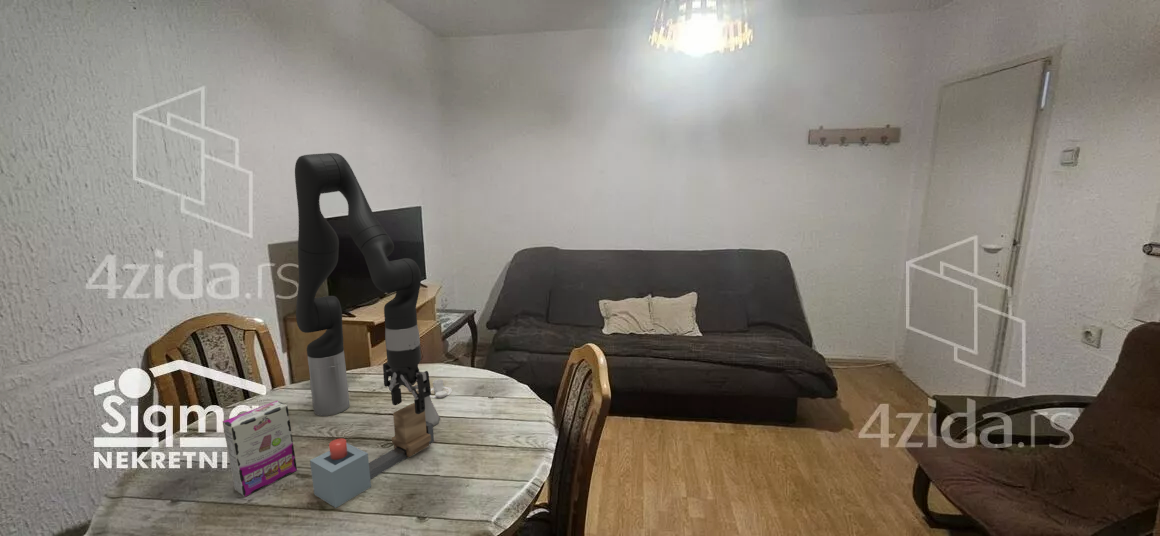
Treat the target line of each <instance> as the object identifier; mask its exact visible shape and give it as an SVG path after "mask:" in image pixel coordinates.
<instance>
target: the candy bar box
mask: <svg viewBox="0 0 1160 536" xmlns="http://www.w3.org/2000/svg"><path fill="white" fill-rule="evenodd" d="M289 413H290V412H289V408H288V405H287V404H286V403H283V402H281V401H279V400H275V401H271V402H269V403H267V404H264V405H262V406H260V407H257V408H254V409H250V410H249V411H245V412H243V413H241V414H239V415H235V416H233V417H231V418H228V419H225V420H222V426H223V432H224V433H223V434H224V436H225V442H226V449H227V453H228V454H227V455H228V459H229V466H230V472H231V475H232V482H233V487H234V490H235V491H236V492H237V493H239V494H240V495H241V496H243V497H248V496H249V495H252V494H253V493H255V492H258V491H260V490H261V489H263V488H265V487H268V486H270V485H272V484H273V483H275V482H277V481H279V480H281V479H282V478H285V477H287V476H289V475H291V474H293V473H294V472H297V471H298V468H297V460H296V453H295V447H294V441H293V435H292V433H293V432H292V427H291V426H292V425H291V421H290V414H289Z"/></svg>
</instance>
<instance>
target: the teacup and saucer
mask: <svg viewBox="0 0 1160 536" xmlns="http://www.w3.org/2000/svg"><path fill="white" fill-rule="evenodd" d="M432 385H433V387H430V389H431V392H432V391H434V393H435V394H434V395H432V394H431V395H430V398H431V399H433V398H434V399H436V398H438V399H439V398H444V397H447V396H448V395H450V394H452V393H453V389H452V388H451V387H450V386H445V385H444V379H441V378H439V379H434V380H432ZM444 389H445V390H444ZM446 390H447V391H448V392H447V391H446Z"/></svg>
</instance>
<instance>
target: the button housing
mask: <svg viewBox="0 0 1160 536" xmlns="http://www.w3.org/2000/svg"><path fill="white" fill-rule="evenodd" d="M346 444H347V456H345V457H344V458H342V459H338V460H333V459H331V457H330V450H328V451H326V452H324V453H321V454H319V455H318V456H316V457H314V458H312V459H309V462H310V471H311V479H312V488H313V494H314V496H315V497H318V498H319V499H321V500H322V501H324V502H326V503H327V504H329V505H330V506H332V507H334V509H337V508H338V507H339V506H342V505H344V504H345V503H347V502H348V501H350V500H351V499H354V498H355V497H357V496H358V495H360V494H362V493H363V492H365V491H367V490H368V489H370V488H371V487H372V482H371V479H370V470H369V462H370V461H369V453H368V452H367V451H364V450H362V449H360V448H358V447H357V446H354V445H351V444H350V443H348V442H346Z"/></svg>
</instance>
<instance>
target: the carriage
mask: <svg viewBox="0 0 1160 536" xmlns="http://www.w3.org/2000/svg"><path fill="white" fill-rule="evenodd" d="M392 416H393V428H394V436H393V437H391V444H392V445H393V447H394V448H393V449H395V448H397V447H398V446H399V447H401V448H403V449H405V450H406V452H407V457H408V458H411V457H413V456H414V455H416V454H417V453H419V452H421V451H423V450H425V449H427V448H428V447H430V445H429V441H431V435H430V434H427V433H426V419H425V411H424V412H422V413H420V414H416V413H415V403H414V402H412V403H411V404H409V405H406V406H404V407H402V408H400V409H399V410H396V411H394V412H393V413H392Z"/></svg>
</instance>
